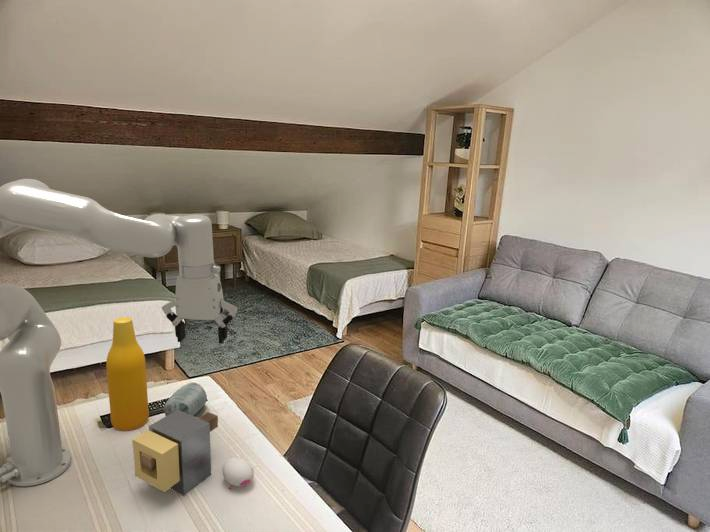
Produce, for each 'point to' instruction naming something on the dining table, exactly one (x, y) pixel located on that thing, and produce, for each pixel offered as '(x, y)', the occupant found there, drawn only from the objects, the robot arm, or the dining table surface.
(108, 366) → the beer bottle
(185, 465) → the block
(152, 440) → the block
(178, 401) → the spool
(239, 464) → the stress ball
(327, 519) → the dining table surface
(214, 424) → the shaft
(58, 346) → the robot arm
